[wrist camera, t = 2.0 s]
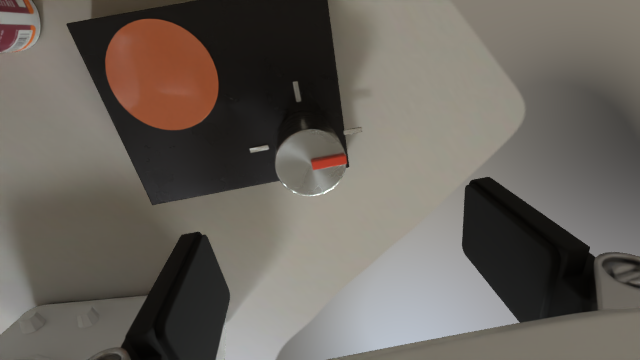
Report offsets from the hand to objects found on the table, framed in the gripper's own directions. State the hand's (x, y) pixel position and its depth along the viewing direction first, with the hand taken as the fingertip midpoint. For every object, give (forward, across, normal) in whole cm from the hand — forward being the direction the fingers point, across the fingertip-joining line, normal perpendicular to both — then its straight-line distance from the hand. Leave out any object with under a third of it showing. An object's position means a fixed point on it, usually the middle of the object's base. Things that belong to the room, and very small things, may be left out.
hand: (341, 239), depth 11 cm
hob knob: (+13, +1, 0) cm, 13 cm away
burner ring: (+13, +9, -6) cm, 17 cm away
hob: (+16, +6, -3) cm, 17 cm away
